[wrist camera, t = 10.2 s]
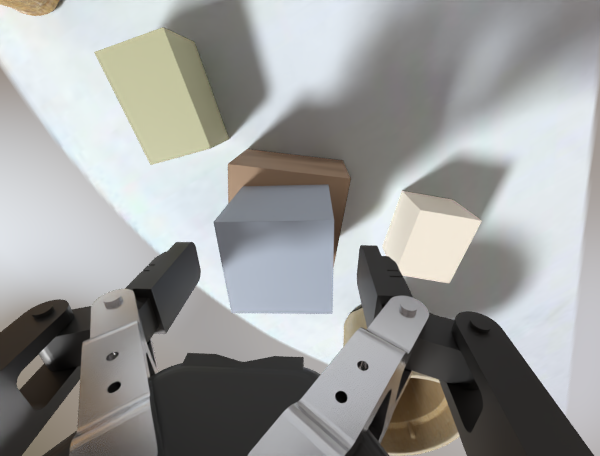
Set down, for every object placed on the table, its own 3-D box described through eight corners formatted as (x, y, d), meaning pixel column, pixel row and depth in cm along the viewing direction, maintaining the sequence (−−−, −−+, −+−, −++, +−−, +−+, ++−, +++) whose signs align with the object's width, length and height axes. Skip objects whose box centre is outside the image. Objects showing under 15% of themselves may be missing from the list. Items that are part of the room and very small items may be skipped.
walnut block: (247, 148, 20) (227, 163, 15) (342, 159, 20) (350, 178, 15) (246, 232, 23) (229, 266, 18) (328, 242, 23) (331, 278, 18)
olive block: (139, 61, 17) (94, 52, 14) (195, 42, 17) (162, 27, 13) (180, 152, 20) (150, 164, 16) (229, 138, 19) (210, 148, 16)
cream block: (401, 190, 20) (420, 209, 17) (452, 199, 20) (481, 220, 17) (381, 246, 22) (394, 274, 19) (427, 254, 23) (449, 283, 19)
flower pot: (315, 298, 25) (316, 388, 17) (418, 277, 24) (469, 365, 16) (339, 364, 29) (348, 461, 21) (429, 349, 27) (475, 449, 20)
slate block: (242, 186, 16) (213, 222, 11) (328, 184, 15) (334, 220, 11) (252, 258, 18) (231, 312, 13) (327, 258, 17) (332, 313, 13)
